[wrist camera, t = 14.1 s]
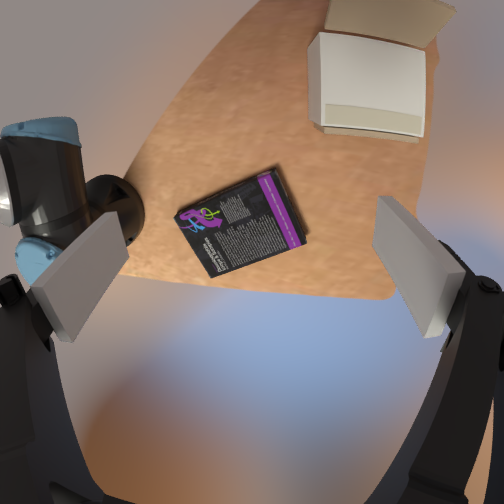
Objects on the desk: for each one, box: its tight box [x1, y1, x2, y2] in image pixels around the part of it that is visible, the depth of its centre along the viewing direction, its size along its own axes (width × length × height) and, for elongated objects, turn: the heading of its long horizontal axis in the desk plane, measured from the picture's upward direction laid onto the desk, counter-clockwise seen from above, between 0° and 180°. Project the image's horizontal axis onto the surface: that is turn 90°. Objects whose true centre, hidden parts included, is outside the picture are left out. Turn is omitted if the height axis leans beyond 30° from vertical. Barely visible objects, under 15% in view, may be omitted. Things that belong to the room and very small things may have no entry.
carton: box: [307, 32, 426, 144], centre depth 33 cm, size 14×13×12 cm
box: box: [173, 168, 307, 278], centre depth 50 cm, size 14×4×20 cm
